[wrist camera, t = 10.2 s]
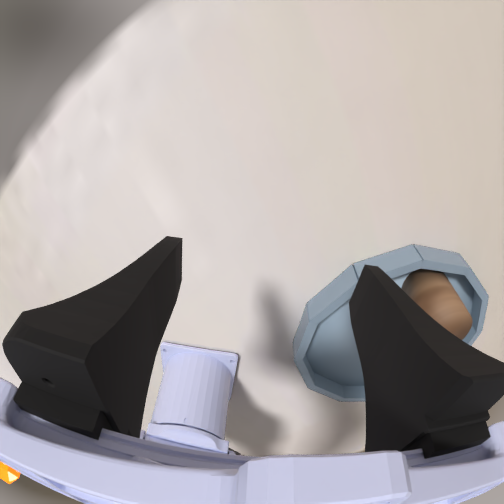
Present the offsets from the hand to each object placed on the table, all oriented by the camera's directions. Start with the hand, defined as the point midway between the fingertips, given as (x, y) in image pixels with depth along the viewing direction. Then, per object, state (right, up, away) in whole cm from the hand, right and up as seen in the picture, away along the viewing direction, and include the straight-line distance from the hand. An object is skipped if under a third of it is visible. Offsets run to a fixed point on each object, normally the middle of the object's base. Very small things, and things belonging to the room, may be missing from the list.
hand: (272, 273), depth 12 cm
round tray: (+13, -7, +16) cm, 22 cm away
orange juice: (-104, -84, +73) cm, 152 cm away
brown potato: (+14, -2, +13) cm, 19 cm away
